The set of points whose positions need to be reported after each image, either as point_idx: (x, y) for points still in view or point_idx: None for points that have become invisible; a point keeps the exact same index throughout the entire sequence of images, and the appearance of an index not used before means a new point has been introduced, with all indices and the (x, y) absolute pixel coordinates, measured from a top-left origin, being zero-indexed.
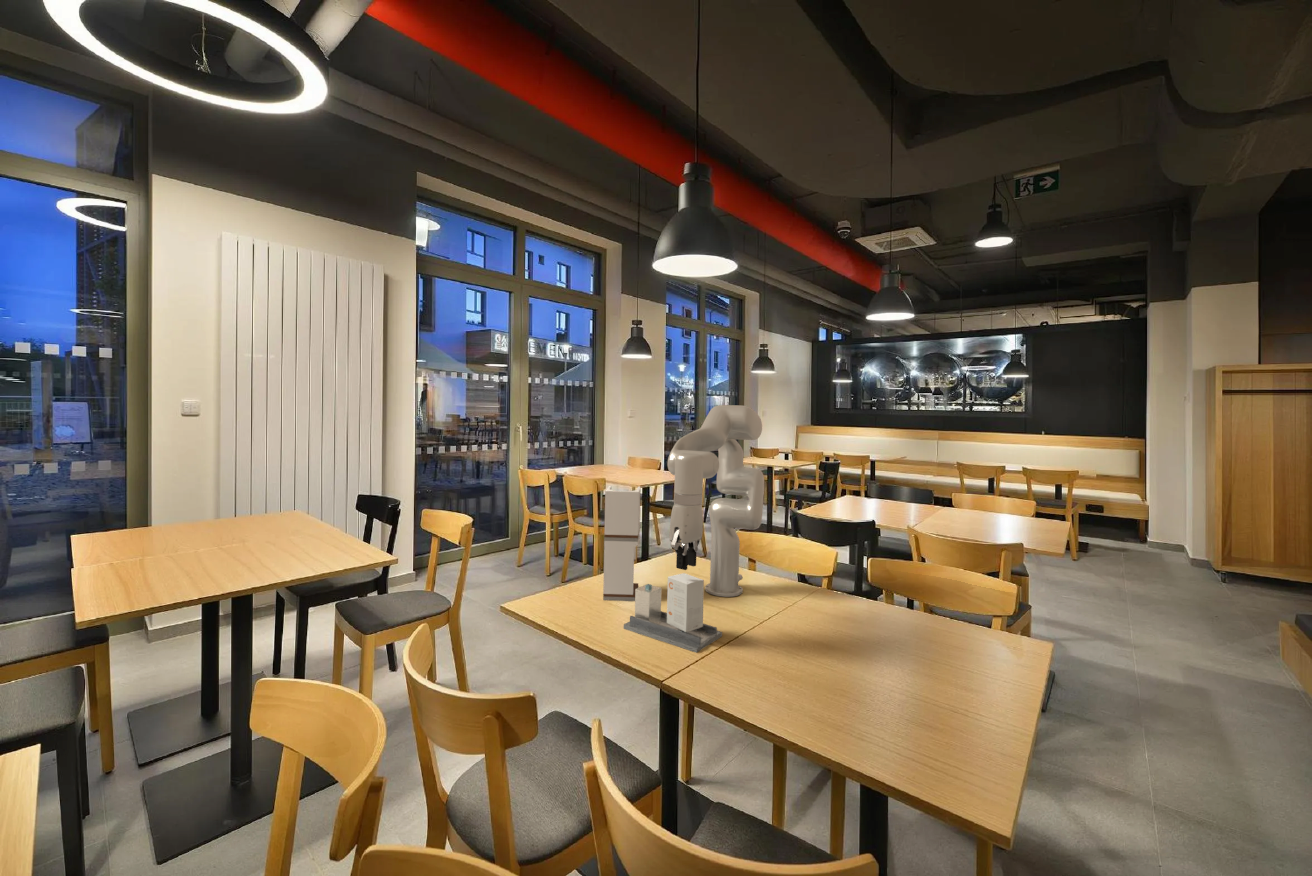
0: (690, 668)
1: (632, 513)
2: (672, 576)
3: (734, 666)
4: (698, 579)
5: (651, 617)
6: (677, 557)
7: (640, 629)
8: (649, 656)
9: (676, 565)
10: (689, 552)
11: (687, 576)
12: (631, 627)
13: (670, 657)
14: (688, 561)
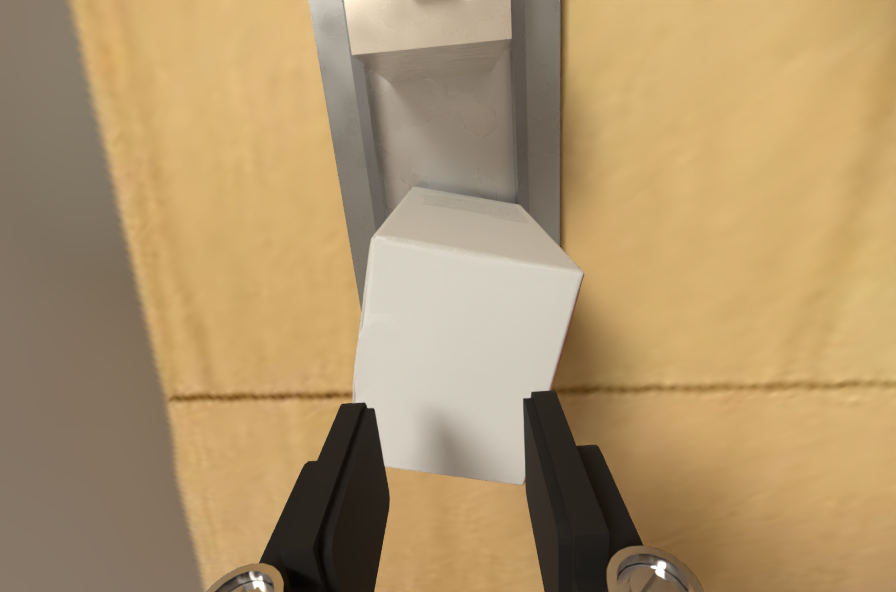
0: (276, 409)
1: None
2: (410, 265)
3: (389, 483)
4: (503, 457)
5: (407, 76)
6: (308, 505)
7: (326, 85)
8: (222, 267)
9: (335, 418)
10: (555, 581)
11: (506, 359)
12: (314, 23)
13: (278, 323)
14: (530, 460)
